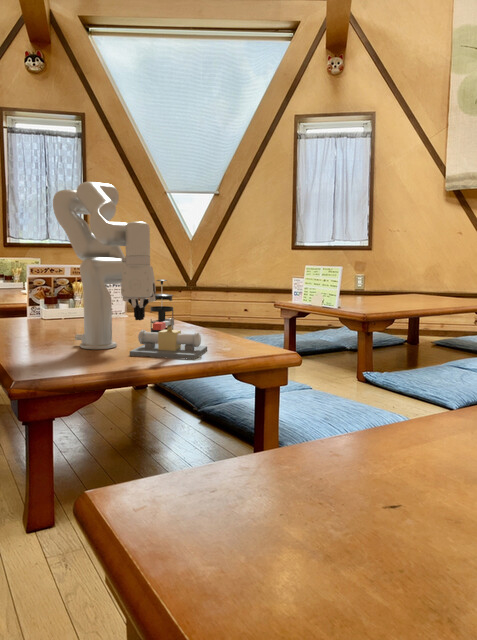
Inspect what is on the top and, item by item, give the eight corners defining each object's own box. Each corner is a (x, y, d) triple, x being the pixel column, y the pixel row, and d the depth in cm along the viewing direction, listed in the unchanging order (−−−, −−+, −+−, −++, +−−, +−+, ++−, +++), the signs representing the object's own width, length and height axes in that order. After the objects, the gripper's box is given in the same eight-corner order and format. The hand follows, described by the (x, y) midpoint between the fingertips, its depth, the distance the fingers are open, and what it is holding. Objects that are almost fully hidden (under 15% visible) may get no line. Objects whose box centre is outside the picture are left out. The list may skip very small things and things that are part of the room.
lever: (166, 324, 178) (166, 318, 178) (175, 324, 178) (175, 318, 178) (152, 329, 165) (152, 323, 165) (161, 330, 165) (161, 323, 165)
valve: (129, 355, 172) (129, 327, 171) (147, 347, 188) (147, 321, 187) (194, 359, 168) (194, 330, 167) (207, 350, 184) (207, 324, 182)
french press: (175, 339, 206) (175, 280, 203) (151, 339, 204) (150, 280, 201) (171, 334, 218) (171, 278, 215) (148, 334, 215) (148, 278, 212)
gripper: (110, 262, 163) (112, 320, 165) (156, 261, 160) (157, 321, 162) (121, 261, 171) (122, 318, 173) (164, 261, 168) (165, 319, 170)
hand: (139, 319), depth 168 cm, fingers closed
